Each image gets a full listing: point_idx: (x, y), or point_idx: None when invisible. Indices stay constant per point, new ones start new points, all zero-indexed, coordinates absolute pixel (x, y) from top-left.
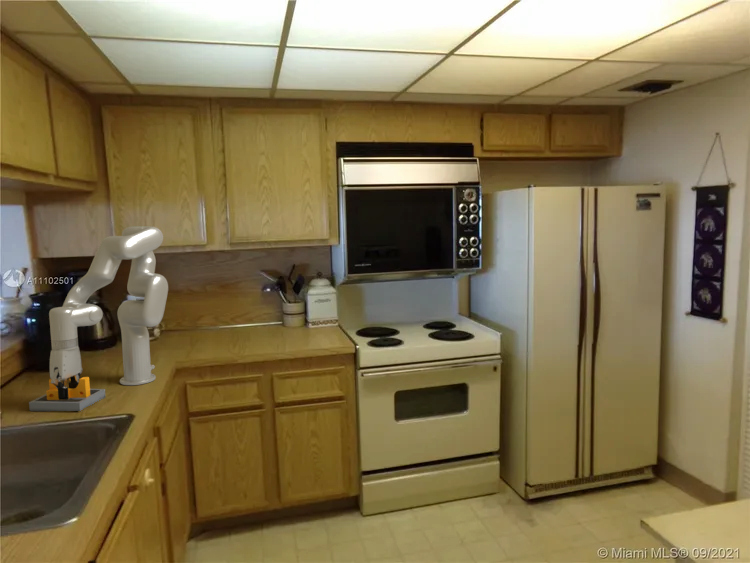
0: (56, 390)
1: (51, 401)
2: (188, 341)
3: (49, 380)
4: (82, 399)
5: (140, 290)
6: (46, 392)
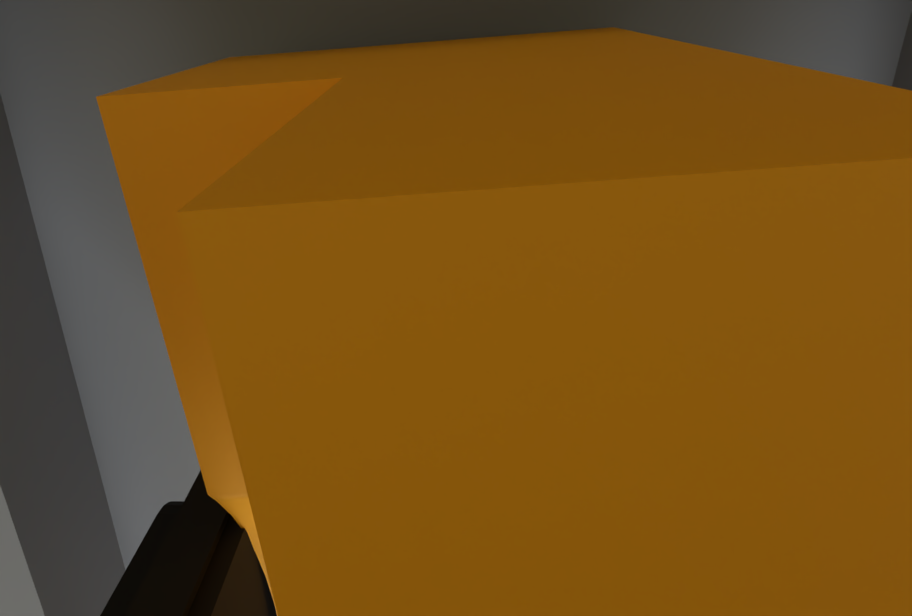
0: (208, 475)
1: (436, 28)
2: None
3: (228, 239)
4: None
5: None
6: (128, 90)
